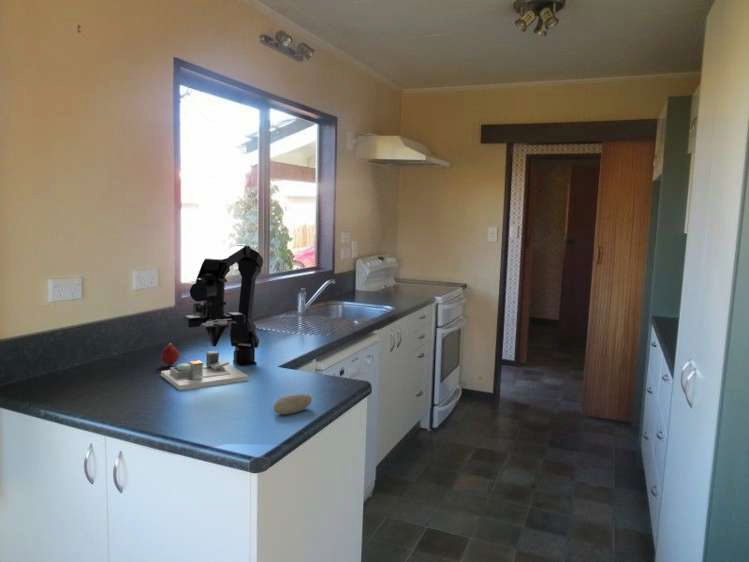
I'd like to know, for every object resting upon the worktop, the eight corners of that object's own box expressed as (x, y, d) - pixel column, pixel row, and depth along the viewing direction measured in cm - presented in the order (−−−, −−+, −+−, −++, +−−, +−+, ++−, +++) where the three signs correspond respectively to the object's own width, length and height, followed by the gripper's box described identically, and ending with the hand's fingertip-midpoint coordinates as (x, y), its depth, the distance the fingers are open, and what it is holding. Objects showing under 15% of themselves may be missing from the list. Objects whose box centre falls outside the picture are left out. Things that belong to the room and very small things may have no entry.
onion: (172, 369, 193) (172, 345, 192) (157, 367, 194) (157, 344, 193) (181, 364, 198) (182, 342, 197) (166, 363, 199) (167, 340, 199)
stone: (266, 405, 153) (295, 384, 162) (275, 426, 154) (304, 403, 163) (279, 404, 149) (308, 381, 159) (289, 425, 150) (317, 401, 160)
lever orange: (199, 375, 180) (199, 360, 180) (202, 378, 178) (203, 362, 177) (189, 377, 178) (189, 361, 178) (192, 379, 176) (192, 363, 175)
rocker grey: (224, 361, 192) (224, 359, 192) (229, 364, 189) (228, 362, 189) (210, 366, 189) (210, 364, 189) (214, 369, 186) (214, 367, 186)
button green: (188, 367, 184) (188, 362, 184) (193, 370, 181) (193, 366, 181) (175, 369, 182) (175, 364, 182) (179, 372, 178) (179, 367, 178)
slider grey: (215, 364, 194) (215, 350, 193) (218, 367, 191) (218, 352, 191) (205, 366, 192) (206, 351, 191) (209, 368, 189) (209, 353, 189)
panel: (225, 367, 198) (225, 357, 197) (247, 380, 184) (248, 369, 183) (161, 375, 185) (161, 364, 184) (179, 390, 170) (179, 379, 170)
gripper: (232, 293, 192) (231, 338, 193) (176, 295, 180) (176, 343, 182) (246, 297, 183) (245, 345, 185) (189, 300, 171) (188, 351, 173)
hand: (214, 346), depth 181 cm, fingers closed
